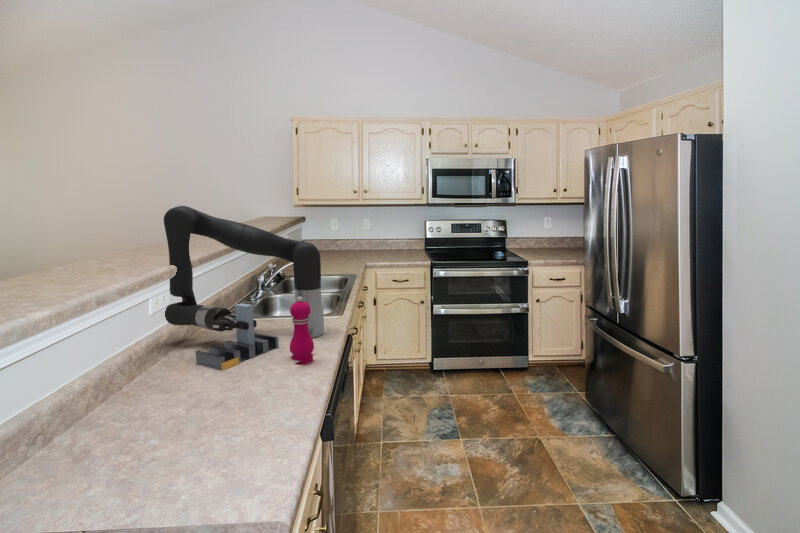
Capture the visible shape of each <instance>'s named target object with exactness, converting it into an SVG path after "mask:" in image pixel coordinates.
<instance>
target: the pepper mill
mask: <svg viewBox="0 0 800 533" xmlns="http://www.w3.org/2000/svg"><path fill="white" fill-rule="evenodd" d="M297 301H298V302H295V301H294V302H293V303H292V304H291V306H290V309H289V313H290V315H291V316H292V318H291V320H292V324H293V334H292V338H291V340H290V342H289V352H290V353H291V354H292V355H291V359H292V360H295V361H297V362H295V363H294V365H297V366H298V365H299V366H300V365H308V364H310V363H311V364H312V362H313V361H314V355H313V354H312V353H313V352H314V350H315V343H314V341H313V338H311V336H310V334H309V331H308V323H309V317H308V315H309V314H310V312H311V308H310V305H309V304H308V303H306V302H303V298H302V297H298V298H297Z"/></svg>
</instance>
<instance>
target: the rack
mask: <svg viewBox="0 0 800 533" xmlns="http://www.w3.org/2000/svg"><path fill="white" fill-rule="evenodd" d="M254 336H255V345H250V344H245V343H240V342H237V341H235V340H229V339H228V340H226V341H223V346H220V345H215V344H214V345H211V346H209V347H208V352H207V351H204V350H203V351H202V350H196V351H195V362H196V363H195V364H198V365H201V366H206V367H208V368H209V367H210V368H213V369H217V370H220V371H225V370H227V369H229V368H233V367H234V366H237V365H240V363H241V364H242V363H244V362H245V361H248V360H250V359H253V358H256V357H258V356H260V355H264V354H266V353H269V352H271V351H274V350H276V349H278V348H280V344H279V336H277V335H271V334H267V333H265V334H264V333H261V332H255V331H254Z"/></svg>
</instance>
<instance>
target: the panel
mask: <svg viewBox="0 0 800 533" xmlns="http://www.w3.org/2000/svg"><path fill="white" fill-rule="evenodd" d="M234 314H235V315H236V320H237V321H242V322H247V323H249V329H248V330H243V329H235V330H236V342H240V343H245V344H250V345H255V336H254V332H255V327H254V320H255V318H254V305H253V304H249V303H243V302H242V303H237V304H234Z"/></svg>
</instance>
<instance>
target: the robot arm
mask: <svg viewBox="0 0 800 533" xmlns="http://www.w3.org/2000/svg"><path fill="white" fill-rule="evenodd" d="M163 226H164V231H165V236H166V242H167V248H168V249H167V250H168V259H169V266H170V265H174V266H176V267H177V272H176V275H175V276H174V277H172V278H171V279H170V278H169V294H170V295H171V296H172V297H177V298H178V297H179V298H181V301H179V302H174V303H171V304H168V305H167V306H166V307H167V308H166V307H165V308H166V311H165V317H166V319H165V321H166V320H167V321H166V322H168V323H169V324H171V325H173V326H174V325H175V326H195V327H200V328H203V329H205V330H209V331H216V332H221V333H222V332H225V331H233V330H236V329H243V330H248V329H249V323H247V322H242V321H237V320H236V315H235V313H233V312H231V310H229V308H225V307H219V306H214V305H213V306H212V305H203V304H198V303H197V300H196V297H195V293H194V289H193V287H194V286H193V283H194V282H193V280H194V278H193V272H194V271H193V265H192V260H191V256H190V240H191V239H190V238H191V235H192V234H193V235H198V236H203V237H206V238H208V239H209V238H210V239H212V240H214V241H216V242H218V243H220V244H223V245H224V246H226V247H228V248H231V249H233V250H236V251H239V252H244V253H246V254H252V255H257V256H263V257H264V256H265V257H267V256H268V257H274V258H279V259H283V260H285V261H288V262H291V263H293V264H292V265H293V284H294V285H293V286H294V303H295V302H298V301H297V298H298V297H302V298H303V302H306V303H308V304H309V305H310V308H311V312H310V314H309V315H308V317H309V323H308V331H309V334H310V336H311V338H312V339H313V338H318V337H321V336H322V335H323V333H325V326H324V324H325V323H324V307H323V306H322V287H321V286H322V285H321V284H322V274H321V273H322V270H321V269H322V268H321V267H322V265H321V253H320V251H319V248H317V246H316V245H315V244H313V243H311V242H308V241H300V240H295V239H289V238H287V237H286V238H285V237H283V236H280V235H277V234H275V233H272V232H270V231H267V230H265V229H261V228H259V227H256V226H253V225H249V224H246V223H241V222H237V221H234V220H228V219H225V218H220V217H215V216H212V215H211V214H207V213H204V212H202V211H199V210H197V209H194V208H192V207H190V206H187V205H179V206H178V205H177V206H174V207H172V208H170V209H168V210H167V211H166V212H165V214H164V215H163ZM165 317H164V318H165ZM257 325H258V324H257V320H256V319H254V328H257Z"/></svg>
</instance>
